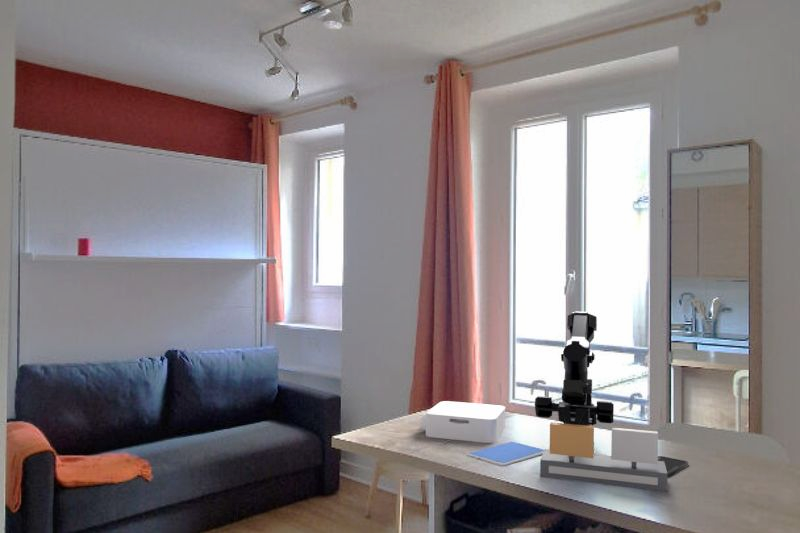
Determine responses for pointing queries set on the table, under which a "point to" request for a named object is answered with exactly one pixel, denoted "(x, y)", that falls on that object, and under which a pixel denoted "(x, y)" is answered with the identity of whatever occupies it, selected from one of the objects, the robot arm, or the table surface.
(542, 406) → the robot arm
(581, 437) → the amber toggle
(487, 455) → the tablet computer
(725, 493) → the table surface
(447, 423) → the projector
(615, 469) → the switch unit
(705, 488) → the table surface
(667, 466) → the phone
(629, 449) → the grey toggle
